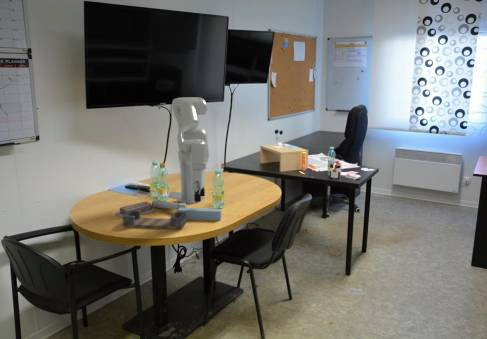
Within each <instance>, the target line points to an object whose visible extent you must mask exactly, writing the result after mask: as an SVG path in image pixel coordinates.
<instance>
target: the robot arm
mask: <svg viewBox="0 0 487 339" xmlns="http://www.w3.org/2000/svg"><path fill="white" fill-rule="evenodd" d="M171 107H172V112H173V115H174V117H175V120H176V122H177V131H178V132H177V137H176V138H177V146H178V152H177V154H178V155H177V156H178V162H179V170H180V175H179V176H180V197H178V202H179V203H180V204H181V203H185V204H186V205H187V204H189V205H190V204H196V203H199V202H200V203H201V201H202V197H205V196H206V194H205V193H206V191H205V190H206V189H205V185H206V173H205V172H206V171H205V170H207V163H208V162H209V159H210V151H209V144H208V135H207V132H206V130H205V129H204V128H198V127H200V120H199V116H204V115H206V114H207V112H208V104H207V102H206V100H205V99H204V98H202V97H198V96H197V97H196V96H195V97H193V96H191V97H189V96H188V97H186V96H185V97H177V98H174V99H172V103H171Z"/></svg>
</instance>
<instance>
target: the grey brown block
mask: <svg viewBox="0 0 487 339" xmlns="http://www.w3.org/2000/svg"><path fill="white" fill-rule="evenodd" d="M153 208H154V207H153V206H152V202H148V201H141V202H137V203H134V204H133V203H132V204H130V205H126V206H122V207H119V211H116V212H115V213H116V214H115V215H116V216H118V217H120V218H122V219H123V216H124V215H125V214H126V213H127V212H128V211H129V210H141V216H142V215H145V214H150V213H153V212H155V211H156V210H155V209H153Z"/></svg>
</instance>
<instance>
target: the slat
mask: <svg viewBox="0 0 487 339" xmlns="http://www.w3.org/2000/svg"><path fill="white" fill-rule="evenodd" d="M177 210H178V211H177V212H186V220H201V221H203V220H204V221H221V220H222V209H221V208H204V207H203V208H202V207H201V208H200V207H199V208H198V207H197V208H195V207H187V208H179V209H177Z"/></svg>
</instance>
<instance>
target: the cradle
mask: <svg viewBox="0 0 487 339" xmlns="http://www.w3.org/2000/svg"><path fill="white" fill-rule="evenodd" d="M173 214H174V216H171V217H170V218H158V217H142V215H141V210H129V211H128V212H127V213H126V214H125V215H124V216H123V218H122V225H123V226H122V227H123V228H137V229H138V228H139V229H156V230H157V229H158V230H160V229H161V230H178V231H181V230H183V228H184V226H185V225H186V223H187V219H186V212H178V211H175V212H174V213H173Z"/></svg>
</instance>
